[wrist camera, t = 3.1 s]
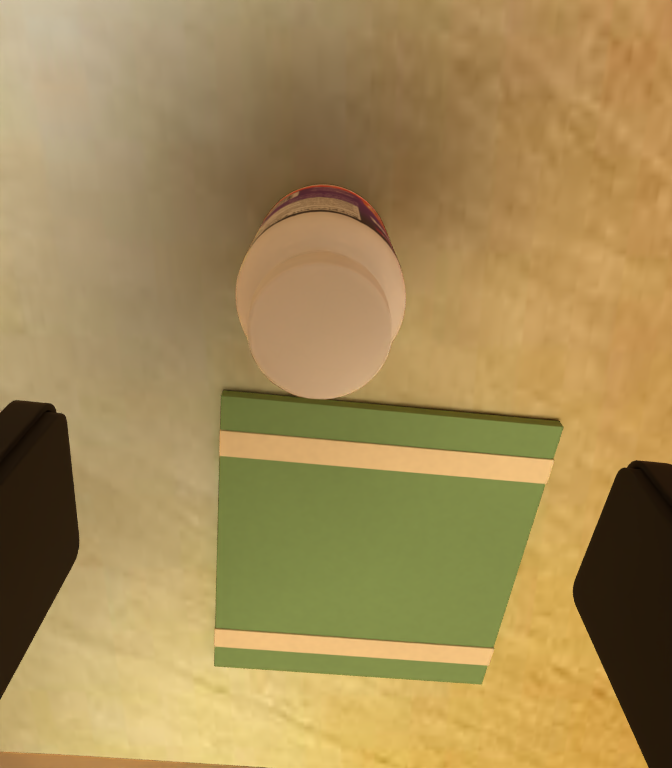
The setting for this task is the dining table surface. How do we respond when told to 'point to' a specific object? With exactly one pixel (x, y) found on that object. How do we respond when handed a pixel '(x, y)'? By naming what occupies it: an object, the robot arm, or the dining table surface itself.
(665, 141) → the dining table surface
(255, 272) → the pill bottle
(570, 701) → the dining table surface
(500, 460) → the towel
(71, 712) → the dining table surface
